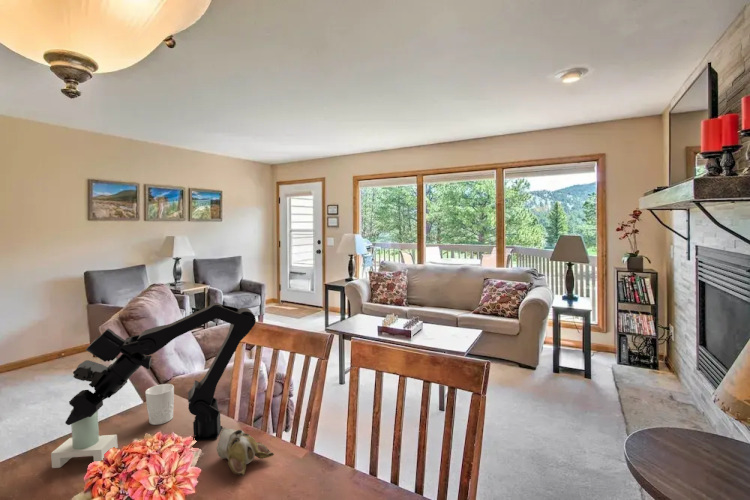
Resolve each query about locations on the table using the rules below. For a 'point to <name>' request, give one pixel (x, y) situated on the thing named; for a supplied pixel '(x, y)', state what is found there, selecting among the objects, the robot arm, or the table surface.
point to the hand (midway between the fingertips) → (77, 414)
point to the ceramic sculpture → (240, 449)
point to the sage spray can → (85, 432)
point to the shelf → (83, 450)
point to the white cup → (160, 403)
